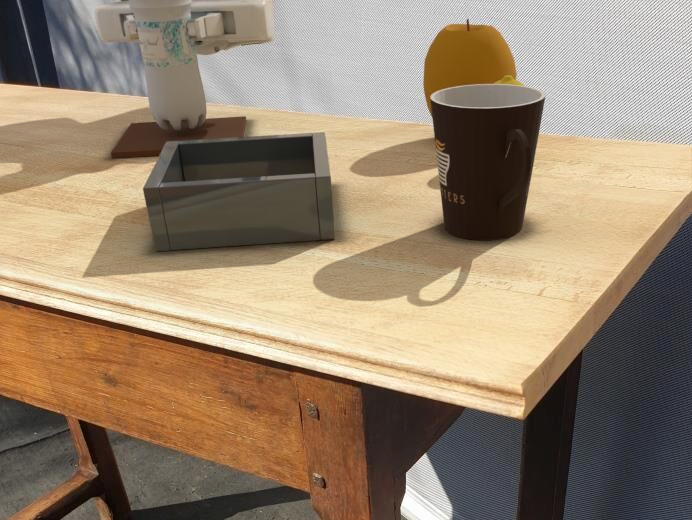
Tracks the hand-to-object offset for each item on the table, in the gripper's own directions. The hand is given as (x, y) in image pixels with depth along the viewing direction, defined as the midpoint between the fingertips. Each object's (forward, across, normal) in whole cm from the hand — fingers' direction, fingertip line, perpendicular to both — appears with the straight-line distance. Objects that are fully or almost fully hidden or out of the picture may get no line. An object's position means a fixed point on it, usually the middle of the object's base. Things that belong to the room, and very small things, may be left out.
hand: (162, 30), depth 89 cm
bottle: (-1, 0, +10) cm, 10 cm away
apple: (-1, +33, +12) cm, 35 cm away
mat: (-1, 0, +11) cm, 11 cm away
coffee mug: (+30, +36, +11) cm, 48 cm away
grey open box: (+26, +16, +11) cm, 33 cm away
